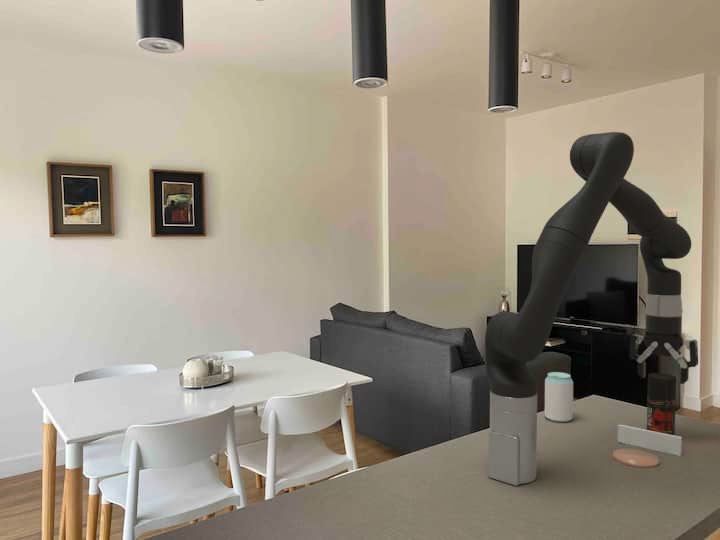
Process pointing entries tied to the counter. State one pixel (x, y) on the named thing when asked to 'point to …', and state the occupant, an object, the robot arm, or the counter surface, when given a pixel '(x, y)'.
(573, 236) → the robot arm
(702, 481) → the counter surface
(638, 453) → the coaster
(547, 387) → the can
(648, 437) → the acrylic wall
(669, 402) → the deodorant
